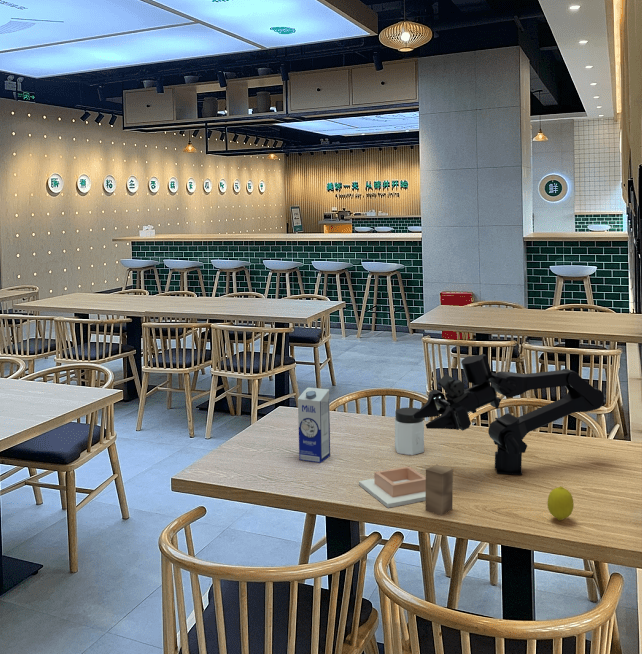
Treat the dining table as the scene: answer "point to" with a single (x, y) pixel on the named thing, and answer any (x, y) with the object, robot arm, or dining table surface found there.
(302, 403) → the milk carton
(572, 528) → the dining table surface
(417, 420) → the jar
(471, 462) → the dining table surface
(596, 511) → the dining table surface
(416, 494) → the terracotta holder
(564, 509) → the lemon
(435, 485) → the walnut post
